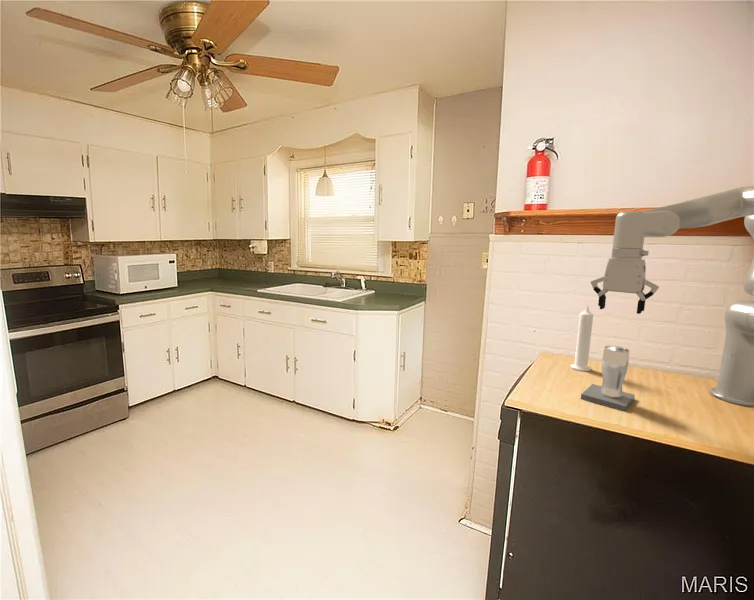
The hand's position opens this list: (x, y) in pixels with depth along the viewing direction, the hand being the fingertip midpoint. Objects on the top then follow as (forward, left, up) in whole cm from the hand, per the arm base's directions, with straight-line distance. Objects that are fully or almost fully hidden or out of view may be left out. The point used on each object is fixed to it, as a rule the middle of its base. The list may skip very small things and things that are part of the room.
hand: (620, 310), depth 114 cm
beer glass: (0, 0, -27) cm, 27 cm away
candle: (+15, -24, -29) cm, 40 cm away
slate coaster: (0, +1, -28) cm, 28 cm away
